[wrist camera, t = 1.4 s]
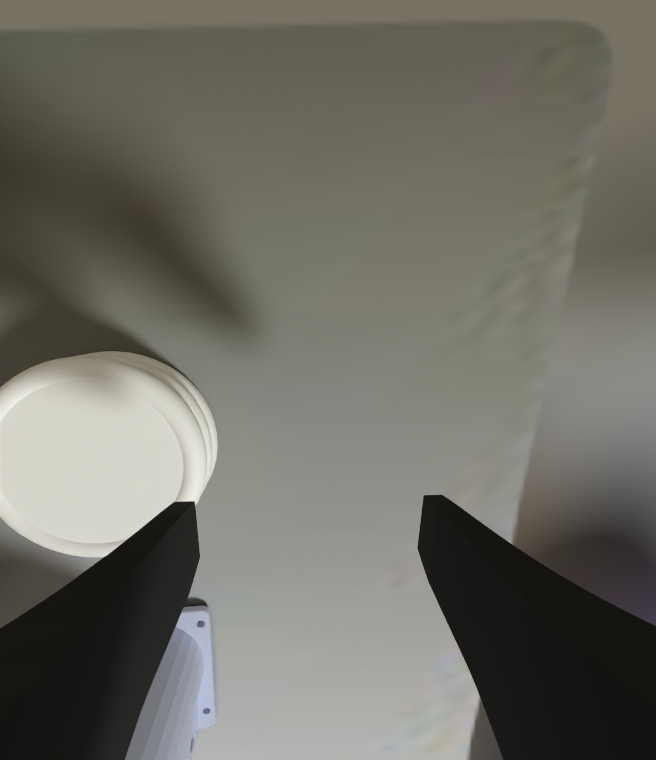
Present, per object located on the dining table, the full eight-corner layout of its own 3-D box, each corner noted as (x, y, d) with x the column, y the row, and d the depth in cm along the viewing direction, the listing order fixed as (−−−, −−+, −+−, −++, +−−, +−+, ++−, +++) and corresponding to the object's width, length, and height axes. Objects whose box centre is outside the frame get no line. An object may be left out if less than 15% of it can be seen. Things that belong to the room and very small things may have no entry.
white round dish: (229, 507, 19) (216, 548, 16) (53, 528, 18) (-3, 577, 15) (207, 343, 17) (187, 350, 14) (8, 357, 16) (-70, 367, 13)
